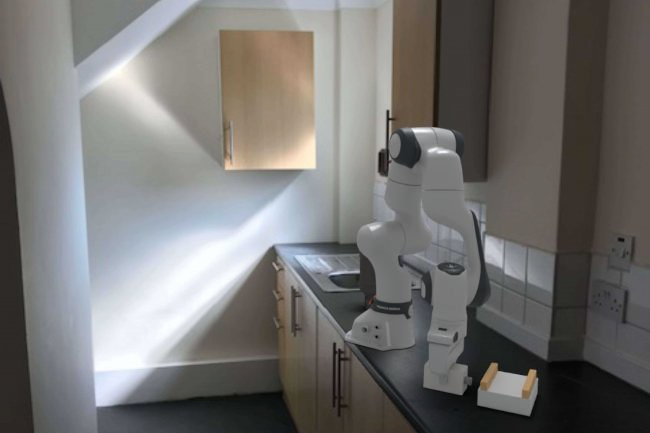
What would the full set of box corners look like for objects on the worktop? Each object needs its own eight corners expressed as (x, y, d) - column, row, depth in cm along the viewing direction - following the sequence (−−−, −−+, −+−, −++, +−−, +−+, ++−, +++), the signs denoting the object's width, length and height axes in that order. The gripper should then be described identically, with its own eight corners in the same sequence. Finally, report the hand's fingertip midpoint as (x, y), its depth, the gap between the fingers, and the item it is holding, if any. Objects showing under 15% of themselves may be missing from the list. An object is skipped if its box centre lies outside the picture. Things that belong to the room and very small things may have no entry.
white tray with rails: (477, 405, 137) (478, 381, 137) (489, 384, 150) (490, 362, 149) (529, 416, 132) (531, 391, 131) (537, 393, 144) (538, 370, 144)
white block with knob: (423, 387, 147) (424, 364, 146) (429, 380, 151) (430, 358, 151) (468, 396, 142) (469, 373, 141) (473, 389, 146) (474, 366, 145)
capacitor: (381, 315, 210) (383, 235, 207) (351, 309, 218) (352, 232, 215) (400, 307, 221) (402, 231, 217) (370, 302, 229) (372, 228, 225)
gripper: (447, 314, 155) (445, 363, 157) (424, 336, 137) (423, 391, 139) (470, 318, 153) (468, 367, 154) (450, 341, 134) (448, 396, 136)
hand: (446, 379), depth 146 cm, fingers closed on white block with knob, 5 cm apart
